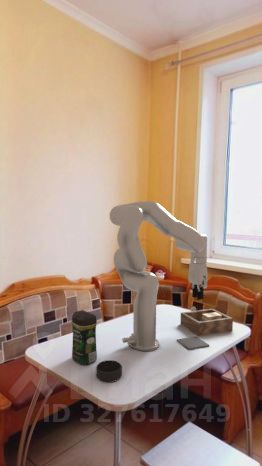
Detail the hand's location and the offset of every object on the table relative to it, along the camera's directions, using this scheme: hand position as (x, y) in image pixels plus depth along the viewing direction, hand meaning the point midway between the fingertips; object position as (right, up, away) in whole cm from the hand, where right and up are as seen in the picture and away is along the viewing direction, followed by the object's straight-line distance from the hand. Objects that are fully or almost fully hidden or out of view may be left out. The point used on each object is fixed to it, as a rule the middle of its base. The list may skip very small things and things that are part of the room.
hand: (197, 297), depth 157 cm
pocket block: (+5, -15, +3) cm, 16 cm away
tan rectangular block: (+8, -12, +4) cm, 15 cm away
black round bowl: (-40, -19, -44) cm, 62 cm away
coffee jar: (-50, -18, -32) cm, 62 cm away
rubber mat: (-5, -16, -16) cm, 24 cm away
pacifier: (0, -14, +16) cm, 22 cm away
